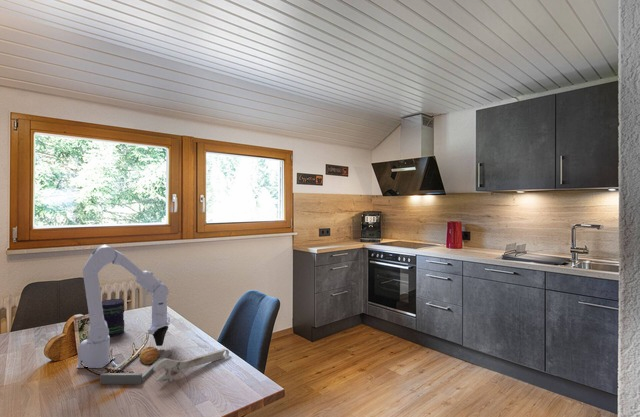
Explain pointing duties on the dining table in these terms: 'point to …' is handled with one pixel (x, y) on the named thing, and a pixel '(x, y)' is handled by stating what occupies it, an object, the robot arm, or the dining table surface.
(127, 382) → the bay
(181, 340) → the dining table surface
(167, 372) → the wrench
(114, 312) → the storage jar
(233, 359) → the dining table surface
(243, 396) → the dining table surface
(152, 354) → the pastry
